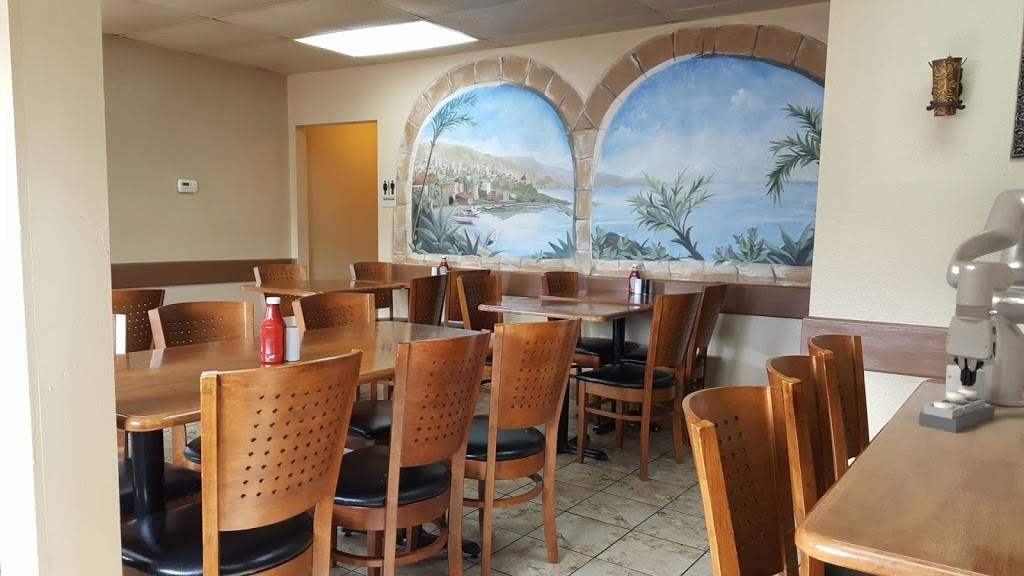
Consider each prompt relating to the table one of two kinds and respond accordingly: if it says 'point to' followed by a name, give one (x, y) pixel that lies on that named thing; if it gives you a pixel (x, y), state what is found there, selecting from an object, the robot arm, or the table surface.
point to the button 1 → (944, 405)
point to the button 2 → (969, 393)
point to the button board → (956, 415)
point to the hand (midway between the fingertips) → (967, 385)
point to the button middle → (955, 397)
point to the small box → (955, 383)
